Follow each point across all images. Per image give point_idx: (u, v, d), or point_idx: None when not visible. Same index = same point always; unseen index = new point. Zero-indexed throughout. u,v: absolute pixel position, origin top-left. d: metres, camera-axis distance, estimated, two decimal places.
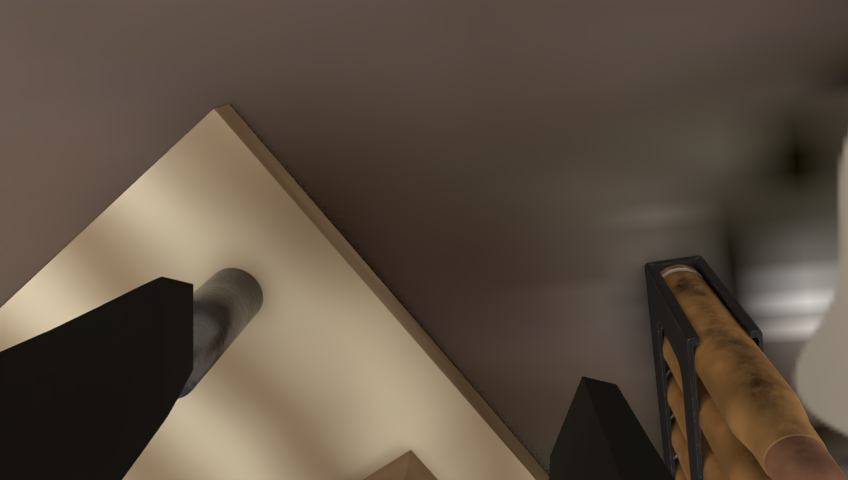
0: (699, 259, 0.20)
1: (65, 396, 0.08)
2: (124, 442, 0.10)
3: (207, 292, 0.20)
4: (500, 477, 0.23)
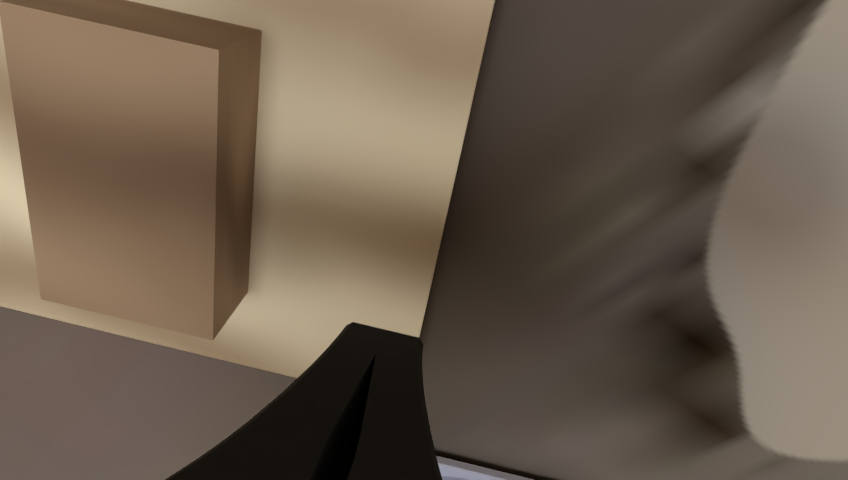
0: None
1: (324, 460, 0.08)
2: None
3: None
4: None
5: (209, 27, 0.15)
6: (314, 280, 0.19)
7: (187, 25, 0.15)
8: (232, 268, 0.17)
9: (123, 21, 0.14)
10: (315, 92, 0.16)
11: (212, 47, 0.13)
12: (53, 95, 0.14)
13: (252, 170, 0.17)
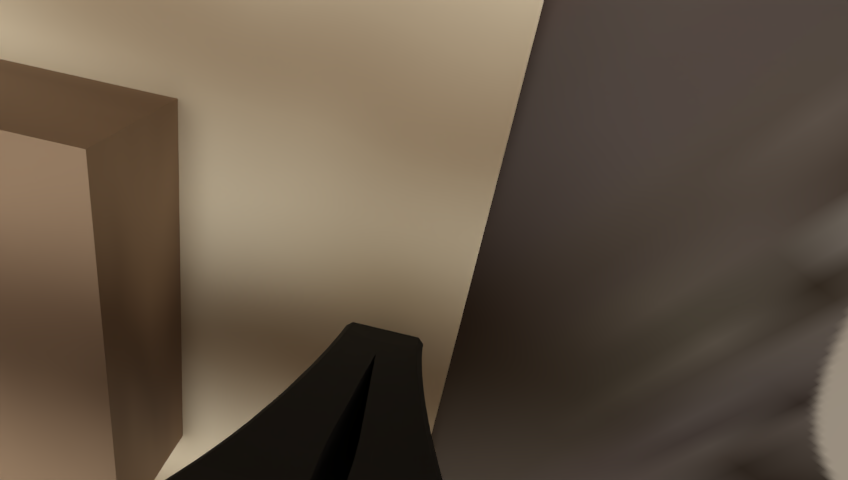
0: None
1: (325, 459, 0.08)
2: None
3: None
4: None
5: (91, 99, 0.10)
6: None
7: (55, 98, 0.10)
8: (150, 425, 0.12)
9: None
10: (260, 185, 0.11)
11: (77, 143, 0.08)
12: None
13: (177, 288, 0.12)
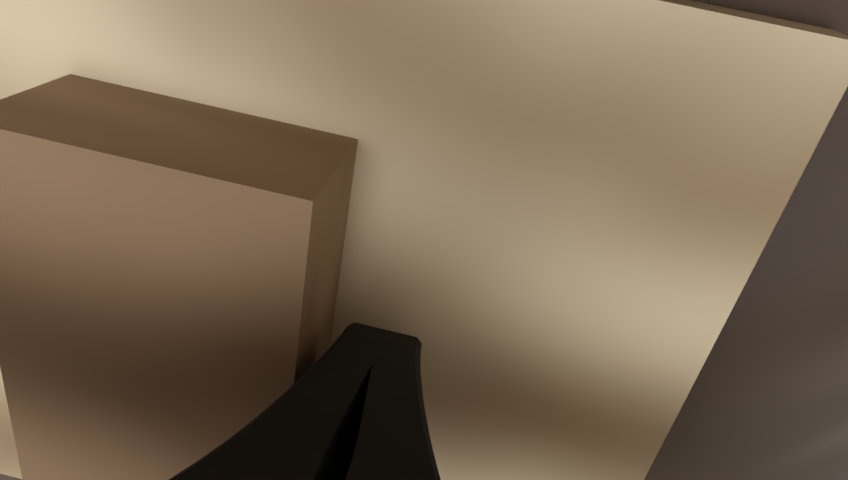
0: None
1: (327, 460, 0.08)
2: None
3: None
4: (322, 4, 0.09)
5: (284, 142, 0.10)
6: (470, 474, 0.14)
7: (251, 142, 0.09)
8: None
9: (154, 145, 0.09)
10: (511, 242, 0.11)
11: (302, 194, 0.08)
12: (42, 255, 0.09)
13: (331, 324, 0.12)
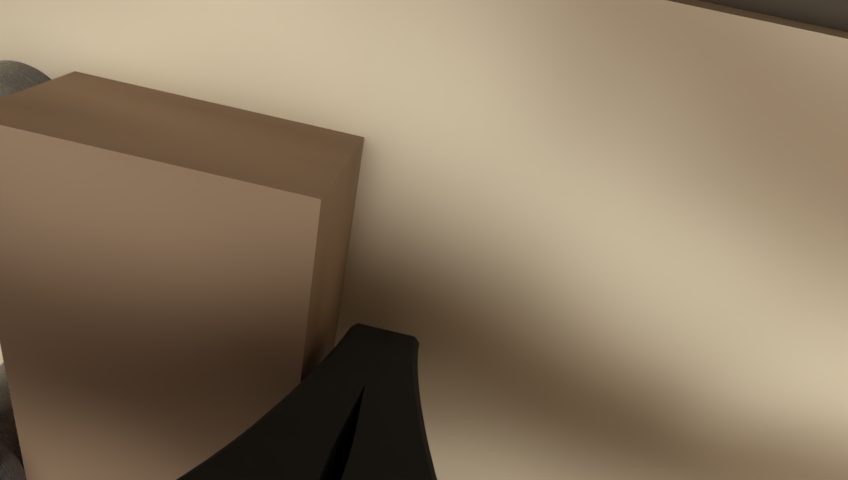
0: None
1: (331, 462, 0.08)
2: None
3: None
4: (734, 92, 0.09)
5: (290, 140, 0.10)
6: None
7: (258, 140, 0.09)
8: None
9: (160, 142, 0.09)
10: None
11: (309, 192, 0.08)
12: (48, 253, 0.09)
13: (336, 323, 0.12)
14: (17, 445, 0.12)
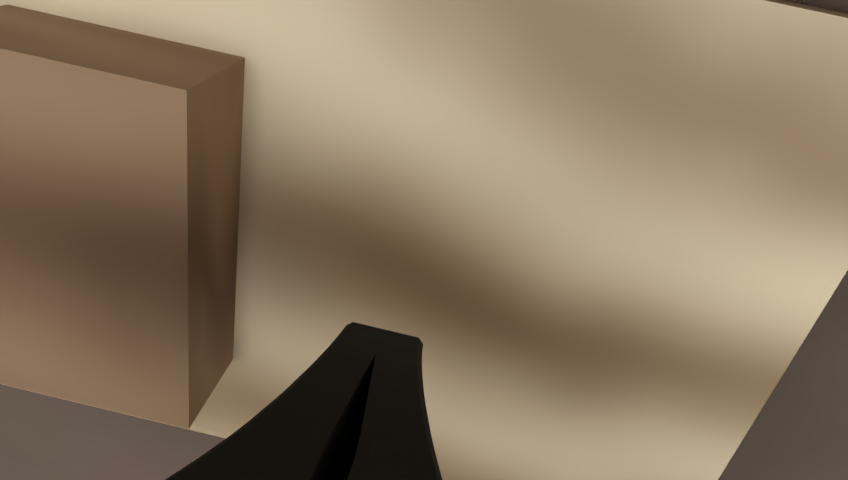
0: None
1: (324, 460, 0.08)
2: None
3: None
4: (529, 13, 0.11)
5: (178, 55, 0.12)
6: (600, 417, 0.16)
7: (149, 54, 0.12)
8: (212, 340, 0.15)
9: (65, 51, 0.11)
10: (663, 212, 0.13)
11: (178, 86, 0.10)
12: None
13: (236, 222, 0.14)
14: None
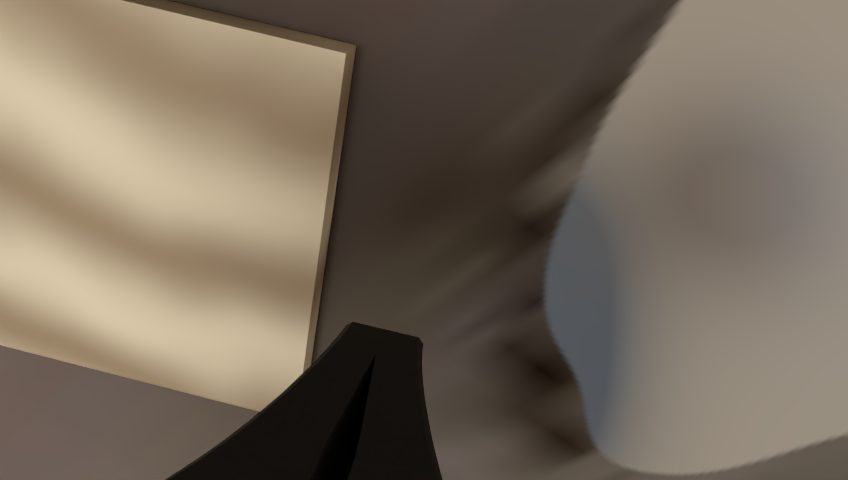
0: None
1: (324, 460, 0.08)
2: None
3: None
4: (78, 26, 0.18)
5: None
6: (212, 315, 0.22)
7: None
8: None
9: None
10: (201, 161, 0.19)
11: None
12: None
13: None
14: None
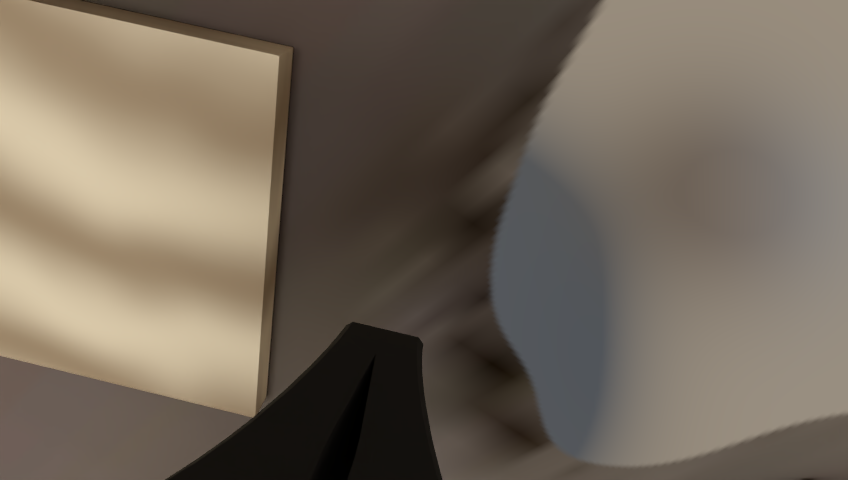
0: None
1: (324, 460, 0.08)
2: None
3: None
4: (21, 33, 0.18)
5: None
6: (167, 315, 0.22)
7: None
8: None
9: None
10: (147, 164, 0.20)
11: None
12: None
13: None
14: None
